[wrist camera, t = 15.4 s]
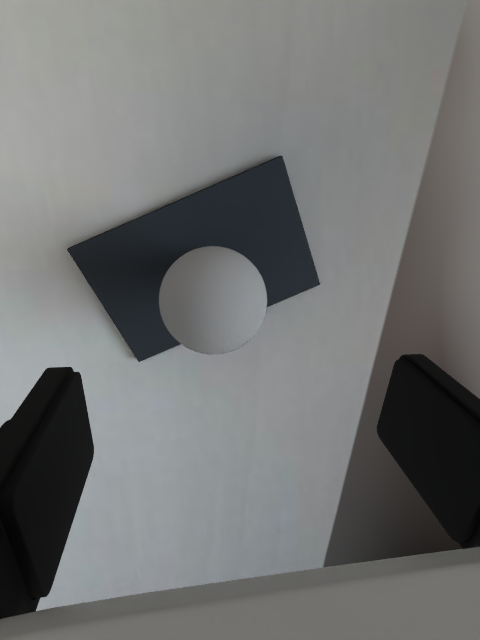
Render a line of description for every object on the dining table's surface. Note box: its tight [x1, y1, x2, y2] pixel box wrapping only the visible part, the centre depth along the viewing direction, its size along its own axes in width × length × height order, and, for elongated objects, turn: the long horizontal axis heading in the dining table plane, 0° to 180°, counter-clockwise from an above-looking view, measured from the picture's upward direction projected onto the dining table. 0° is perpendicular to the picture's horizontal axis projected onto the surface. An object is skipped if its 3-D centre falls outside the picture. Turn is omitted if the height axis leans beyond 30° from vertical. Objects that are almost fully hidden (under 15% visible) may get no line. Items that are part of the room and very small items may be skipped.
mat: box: [67, 156, 320, 362], centre depth 25 cm, size 16×10×1 cm, turn 112°
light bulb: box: [159, 246, 267, 354], centre depth 20 cm, size 6×6×10 cm
